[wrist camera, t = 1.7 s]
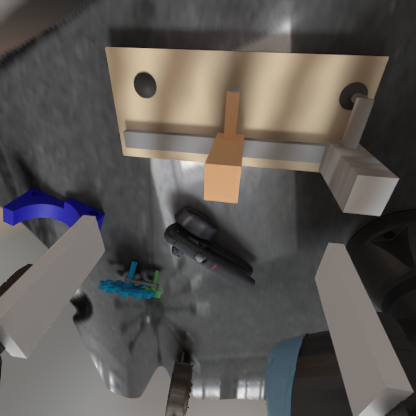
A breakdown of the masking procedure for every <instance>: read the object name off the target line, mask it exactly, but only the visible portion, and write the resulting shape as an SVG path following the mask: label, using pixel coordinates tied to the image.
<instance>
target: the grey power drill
mask: <svg viewBox="0 0 416 416" xmlns="http://www.w3.org/2000/svg"><path fill="white" fill-rule="evenodd" d="M184 354H185V352H182V357H181V361H180V362H179V361H175V364H174V369H173V374H172V379H171V384H170V389H169V394H168V400H167V407H166V413H165V416H185V415H186V411H187V408H189V407H187V406H188V400H189V398H190V396H189V393H190V392H191V388H190V387H192V385H193V384H192V383H191V379H192V367H193V365H194V364H195V363H194V364H193V365H192V366H191V364H190V363H185V362H184Z"/></svg>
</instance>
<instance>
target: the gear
mask: <svg viewBox="0 0 416 416" xmlns="http://www.w3.org/2000/svg"><path fill="white" fill-rule="evenodd" d="M137 263H138V262H134V261H132V263H131V267H130V271H129V274H128V278H126V279H125V282H122V281H119V280H116V281H112V280H106V281H100V284H99V287H98V288H99V289H101V290H106V289H107V290H106V292H107V293H111V294H114V292H118V293H120V294H119V296H123V297H127V296H128V295H130V296H132V297H134V298H136V299H140V298H141V297H144V298H148V299H149V298H150V297H151V296H152V297H155V298H160V295H161V291H162V290H158V289H157V288H158V286H159V284H157V280H158V276H159V272H160V271H157V270H156V272H155V275H154V279H153V283H152V282H148V281H143V280H138V279H133V277H134V274H135V270H136V266H137ZM134 283H139V284H144V285H149V287H148V286H144V285H138V286H136V285H134ZM154 295H155V296H154Z"/></svg>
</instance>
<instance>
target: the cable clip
mask: <svg viewBox="0 0 416 416" xmlns="http://www.w3.org/2000/svg"><path fill="white" fill-rule="evenodd" d="M83 215H88V216H96V220H97V223H98V227H99V230H100V229H101V225H102V222H103V218H104V215H105V214H104V213H102V212H100V211H98V210H96V209H93V208H91V207H89V206H87V205H85V204H83V203H81V202H78V201H76V200H74V199H72V198H69V199H68V200H66V201H65V202H63V201H61V200H59V199H56V198H54V197H52V196H50V195H48V194H46V193H43V192H41V191H39V190H37V189H35V188H33V189H31V190H29V191H28V192H26V193H25V194H23V195H21V196H20V197H18V198H17V199H15V200H13V201H12V202H10V203H9V204H7V205H6V206H4V207H3V221H4V222H6V223H8V224H10V225H13V226H14V225H15V224H17V223H19V222H21V221H24V220H27V219H31V218H40V217H44V218H52V219H56V220H59V221H62V222H64V223H66V224H67V225H68V226H70V227H72V226H73V225H74V224H75V223H76V222H77V221H78V220H79V219H80V218H81V217H82V216H83Z"/></svg>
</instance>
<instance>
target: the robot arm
mask: <svg viewBox="0 0 416 416" xmlns="http://www.w3.org/2000/svg"><path fill="white" fill-rule="evenodd" d="M104 252H105V248H104V245H103V241H102V238H101V234H100V230H99V227H98V223H97V220H96V216H88V215H83V216H82V217H81V218H80V219H79V220H78V221H77V222H76V223H75V224H74V225H73V226H72V227H71V228H70V229H69V230H68V231H67V232H66V233H65V234H64V235H63V236H62V237H61V238H60V239H59V240H58V241H57V242H56V243H55V244H54V245H53V246H52V247H51V248H50V249H49V250H48V251H47V252H46V253H45V254H43V255H42V256H41V257H40V258H39V259H38V260H37V261H36V263H34V264H27V265H26V266H24V267H22V268H21V269H19V270H18V271H16V272H15V273H14V274H13V275H12V276H11V277H10V278H9V279H8V280H7V282H4V283H3V284H2V285H1V286H0V354H1V353H2V352H3V351H4V349H6V350H7V351H8V352H9V353H10V355H11V356H15V357H21V358H26V359H28V357H29V356H30V355H31V353H32V352H33V350H34V349H35V348H36V346H37V345H38V344H39V342H40V341H41V339H42V338H43V337H44V335H45V334H46V332H47V331H48V330H49V328H50V327H51V325H52V324H53V323H54V321H55V320H56V319H57V317H58V316H59V314H60V313H61V312H62V310H63V309H64V307H65V306H66V305H67V303H68V302H69V301H70V299H71V298H72V296H73V295H74V294H75V292H76V291H77V289H78V288H79V287H80V285H81V284H82V283H83V281H84V280H85V278H86V277H87V276H88V274H89V273H90V271H91V270H92V269H93V267H94V266H95V264H96V263H97V262H98V260H99V259H100V258H101V256H102V255H103V253H104ZM315 281H316V284H317V288H318V291H319V295H320V299H321V302H322V306H323V310H324V313H325V317H326V320H327V324H328V328H329V331H323V332H318V333H312V334H309V333H305V334H302V335H301V336H298V337H294V338H290V339H285V340H282V341H280V342H278V343H277V344H276V345H275V346H274V347H273V349H272V351H271V353H270V356H269V360H268V366H267V371H266V405H267V414H268V416H416V210H408V211H402V212H397V213H393V214H390V215H387V216H384V217H382V218H379V219H377V220H375V221H373V222H372V223H370V224H368V225H367V226H365V227H364V228H362V229H361V230H360V231H359V232H358V233H357V234H356V235H355V236H354V237H353V238H352V239H351V241H350V242H349V244H348V246H347V248H345V246H344V244H337V243H328V246H327V248H326V251H325V253H324V256H323V258H322V261H321V263H320V266H319V268H318V271H317V273H316V276H315ZM370 299H371V300H372V301H373V302H374V303H375V304H376V306H377V307H378V308H379V309H380V310H381V311H382V312H376V311H375V309H374V307H373V305H372V303H371V301H370ZM1 362H2V360H1V356H0V378H1V365H2V363H1Z"/></svg>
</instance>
